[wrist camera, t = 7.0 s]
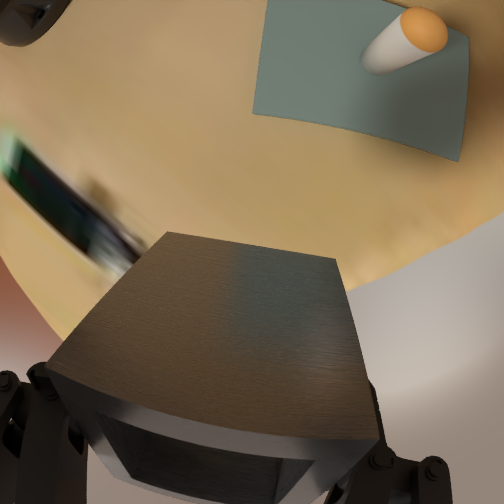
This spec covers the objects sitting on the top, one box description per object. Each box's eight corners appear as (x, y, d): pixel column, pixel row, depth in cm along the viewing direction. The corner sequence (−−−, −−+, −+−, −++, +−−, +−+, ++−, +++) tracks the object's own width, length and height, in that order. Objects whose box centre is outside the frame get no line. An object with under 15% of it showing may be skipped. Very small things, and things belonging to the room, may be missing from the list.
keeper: (254, 114, 25) (224, 101, 12) (272, -13, 19) (258, -94, 7) (448, 159, 23) (536, 191, 11) (459, 40, 18) (539, 15, 5)
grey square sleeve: (170, 351, 15) (114, 477, 8) (167, 231, 12) (43, 366, 5) (298, 374, 15) (293, 515, 7) (335, 258, 12) (380, 438, 4)
